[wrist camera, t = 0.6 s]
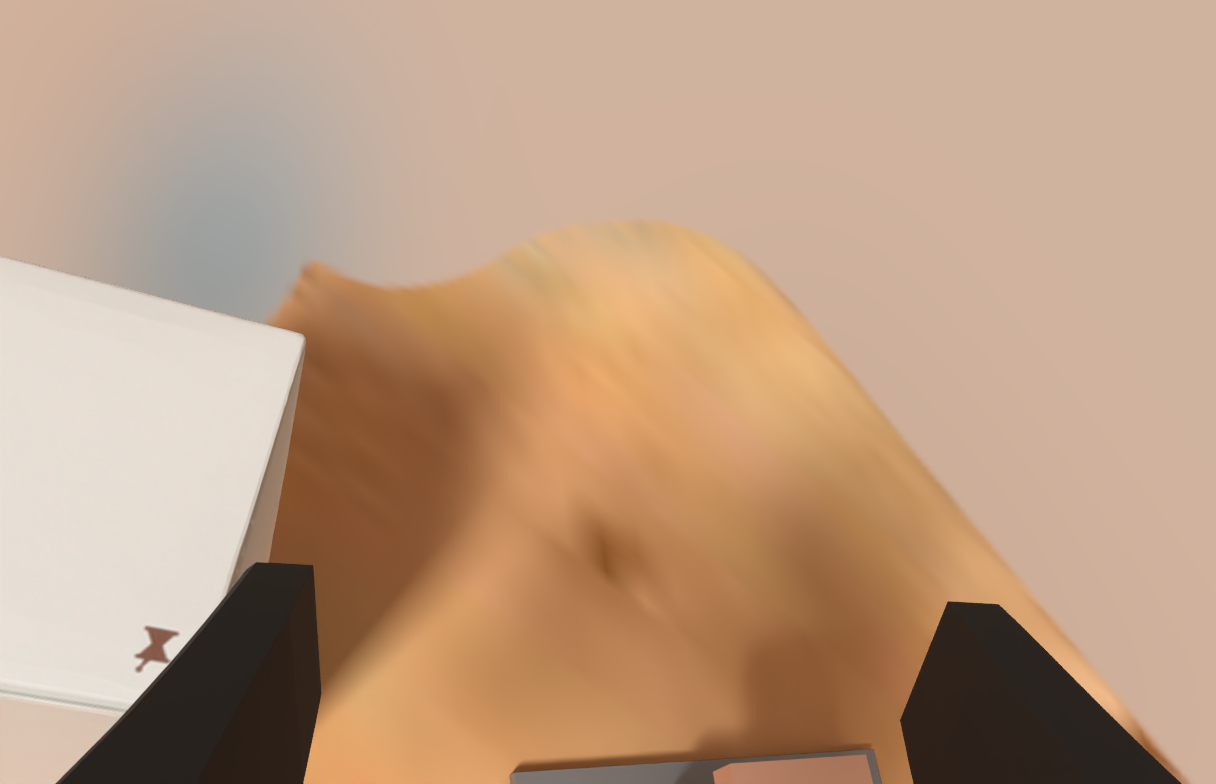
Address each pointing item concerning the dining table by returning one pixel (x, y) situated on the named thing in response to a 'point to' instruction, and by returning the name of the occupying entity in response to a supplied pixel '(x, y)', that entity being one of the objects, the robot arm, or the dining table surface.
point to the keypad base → (668, 771)
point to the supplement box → (122, 494)
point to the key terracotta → (798, 771)
